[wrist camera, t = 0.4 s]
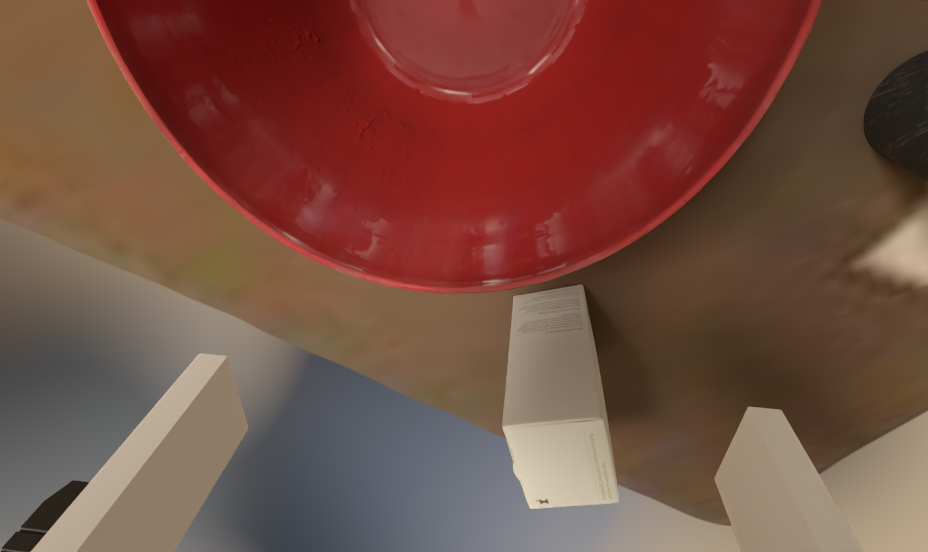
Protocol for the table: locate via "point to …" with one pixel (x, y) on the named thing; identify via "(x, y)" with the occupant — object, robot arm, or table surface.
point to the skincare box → (557, 403)
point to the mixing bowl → (456, 120)
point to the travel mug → (902, 116)
